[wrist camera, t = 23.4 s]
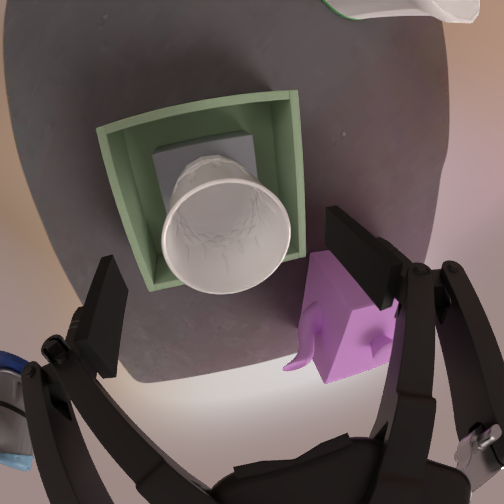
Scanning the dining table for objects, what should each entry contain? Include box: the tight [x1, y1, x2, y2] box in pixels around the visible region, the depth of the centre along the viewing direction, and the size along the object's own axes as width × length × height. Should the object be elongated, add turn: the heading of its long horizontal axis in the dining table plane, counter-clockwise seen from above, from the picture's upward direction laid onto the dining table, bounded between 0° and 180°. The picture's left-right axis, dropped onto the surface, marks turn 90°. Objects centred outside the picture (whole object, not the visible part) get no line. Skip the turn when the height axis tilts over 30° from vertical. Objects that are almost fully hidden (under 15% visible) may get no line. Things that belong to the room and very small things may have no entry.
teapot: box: [283, 250, 399, 384], centre depth 36 cm, size 15×25×14 cm, turn 89°
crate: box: [96, 90, 306, 292], centre depth 26 cm, size 17×17×7 cm
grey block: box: [152, 130, 258, 213], centre depth 26 cm, size 9×9×4 cm
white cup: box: [161, 155, 291, 294], centre depth 21 cm, size 8×8×10 cm
